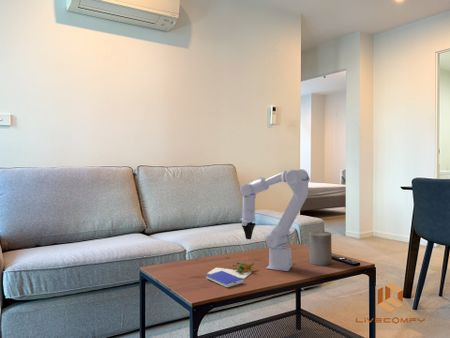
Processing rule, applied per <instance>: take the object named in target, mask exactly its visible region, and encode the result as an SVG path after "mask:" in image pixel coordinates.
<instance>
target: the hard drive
mask: <svg viewBox="0 0 450 338" xmlns="http://www.w3.org/2000/svg"><path fill="white" fill-rule="evenodd" d="M205 278H206V279H207V280H210V281H212V282H213V283H216V284H219V285H220V286H222V287H225V288H229V287H233V286H237V285H240V284H242V283H244V279H242V278H239V277H236V276H234V275H232V274H229V273H227V272H224V271H219V272H215V273H212V274H206V277H205Z"/></svg>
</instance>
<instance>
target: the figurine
mask: <svg viewBox="0 0 450 338" xmlns="http://www.w3.org/2000/svg"><path fill="white" fill-rule="evenodd" d="M254 265H255V263H253V262H252V263H248V264H247V263H245V262H236V264H233V265H232V267H234V268H232V270H237V271H236V272H240V273H241V272H242V273H243V272H244V271H249V272H251V271H254V270H255V269H254V267H253V266H254Z"/></svg>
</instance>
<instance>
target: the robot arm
mask: <svg viewBox="0 0 450 338" xmlns="http://www.w3.org/2000/svg"><path fill="white" fill-rule="evenodd" d="M310 180H311V178H310V176H309V173H308V172H307V171H306V170H305V169H303V168H302V169H289V170H284V171H282V172H279V173H277V174H275V175H272V176H270V177H268V178H266V177H262V176H260V177H257V179H256V180H251V181H249V183H245V182H244V183H243V184H242V185H241V186H240V188H239V192H240V194H241V196H242V213H241V215H242V216H241V217H242V218H240V219H239V221H241V227H242V229H243V232H244V236H245V240H251V239H252V236H253V232H254V229H255V227H256V223H255V222H256V196H257V194H258V193H259V194H260V193H261V192H262V193H263V192H264V191H267V190H269V188H270V186H273V185H276V184H279V183H281V182H283V183H287V185H288V187H289V188H290V189H291V190H292V193H293V194H292V196H291V199H290V201H289V202H288V204H287V206H286V208H285V210H284V212H283V214H282V216H280V217H281V218H280V219H279V221H278V223H277V225H276V226H275V227H273V229H271V231H270V233H268V234H266V238H265V242H266V244H267V246H268V248H269V249H268V257H269V258H268V266H266V268H265V269H267V270H276V271H283V272H284V271H285V272H289V271H290V269H291V268H292V267H293V265H292V264H293V263H292V262H293V261H292V260H293V259H292V248H290V247H287V244H288V242H289V240H290V234H291V231H290V229H291V228H292V226H293V223H294V222H295V220H296V218H297V216H298V215H299V212H300V211H301V209H302V207H303V205H304V203H305V202H306V200H307V197H308V195H309V182H310Z"/></svg>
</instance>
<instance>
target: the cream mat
mask: <svg viewBox="0 0 450 338" xmlns="http://www.w3.org/2000/svg"><path fill="white" fill-rule="evenodd" d="M219 271H224V272H227V273H229V274H232V275H234V276H236V277H239V278H242V279H243V280H245V279H246V278H247V277H249V275H250V274H252V271H249V270H246V271H244V272H243V273H242V272H241V273H240V272H236V271H237V270H235V269H234V270H233V268H232V269H231V268H230V269H229V268H223V267H214V268H213V269H211V270H210V271H208V272H207V273H206V275H208V274H212V273H215V272H219Z"/></svg>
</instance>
